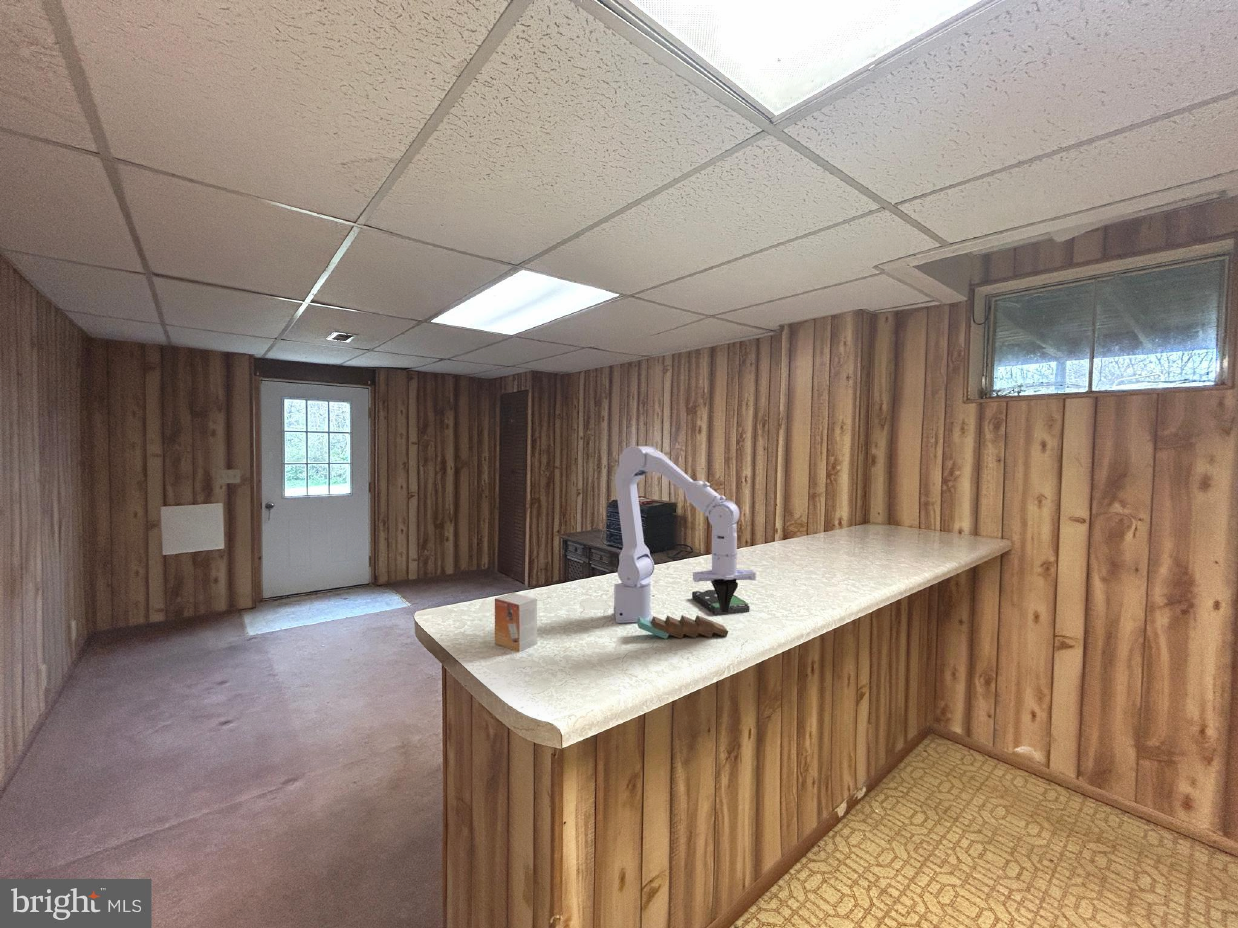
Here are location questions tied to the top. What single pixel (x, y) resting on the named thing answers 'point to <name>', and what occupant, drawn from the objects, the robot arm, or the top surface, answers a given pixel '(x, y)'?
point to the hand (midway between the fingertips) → (723, 610)
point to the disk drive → (712, 603)
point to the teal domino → (650, 627)
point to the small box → (515, 621)
